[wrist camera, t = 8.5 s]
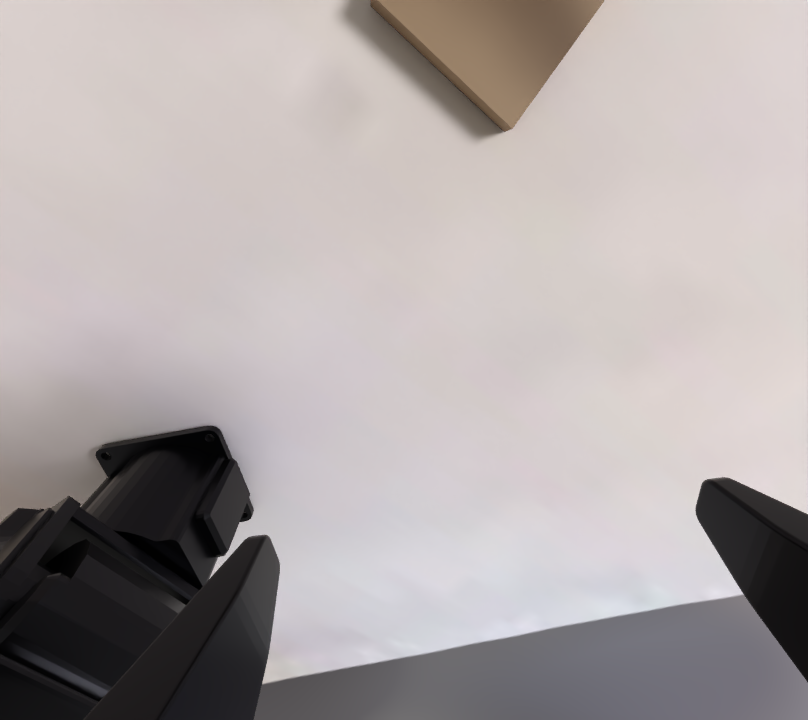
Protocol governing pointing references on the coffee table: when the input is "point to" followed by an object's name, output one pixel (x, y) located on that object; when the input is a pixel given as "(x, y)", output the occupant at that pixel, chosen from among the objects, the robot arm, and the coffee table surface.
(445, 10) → the guide
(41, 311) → the coffee table surface
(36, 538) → the robot arm
